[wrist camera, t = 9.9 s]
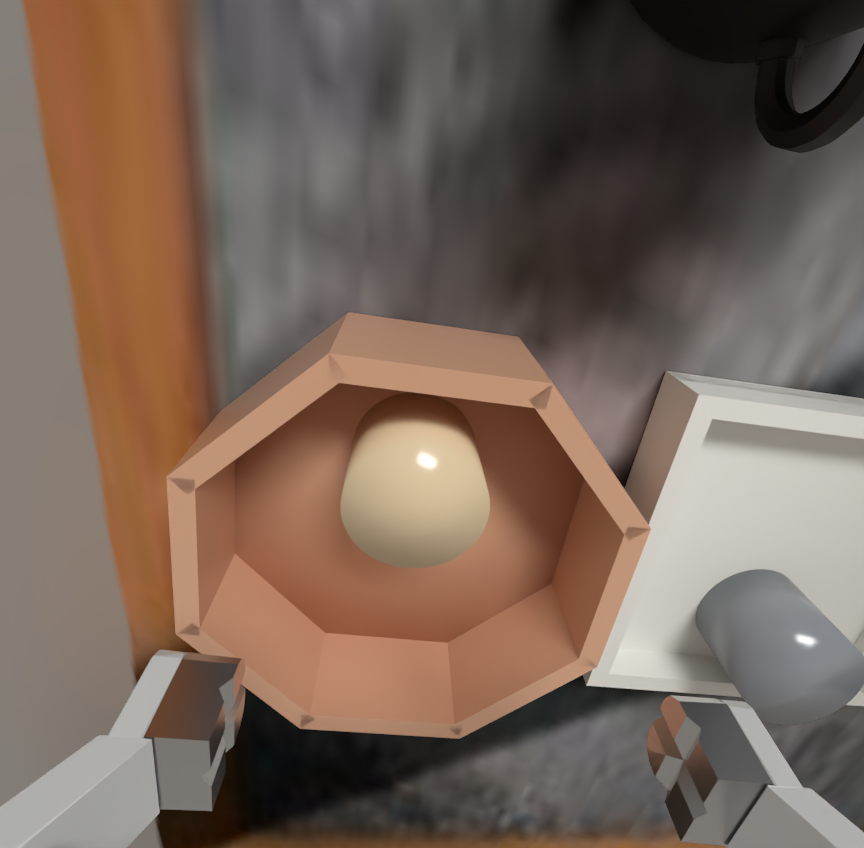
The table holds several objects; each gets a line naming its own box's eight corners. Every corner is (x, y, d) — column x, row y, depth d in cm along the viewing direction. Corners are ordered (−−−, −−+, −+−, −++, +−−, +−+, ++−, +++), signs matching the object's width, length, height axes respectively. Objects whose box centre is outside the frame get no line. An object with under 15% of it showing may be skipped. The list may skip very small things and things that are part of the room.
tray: (988, 416, 21) (1057, 443, 19) (831, 663, 27) (870, 706, 25) (665, 370, 20) (698, 394, 18) (570, 641, 26) (586, 685, 23)
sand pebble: (485, 400, 19) (503, 452, 15) (464, 506, 21) (475, 574, 17) (358, 384, 19) (346, 434, 15) (348, 494, 21) (335, 562, 17)
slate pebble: (814, 574, 23) (890, 646, 20) (771, 650, 25) (833, 728, 21) (717, 564, 23) (776, 636, 19) (681, 642, 25) (728, 721, 21)
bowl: (632, 352, 20) (700, 403, 15) (538, 646, 26) (566, 745, 21) (220, 293, 18) (157, 330, 14) (223, 620, 24) (180, 721, 20)
